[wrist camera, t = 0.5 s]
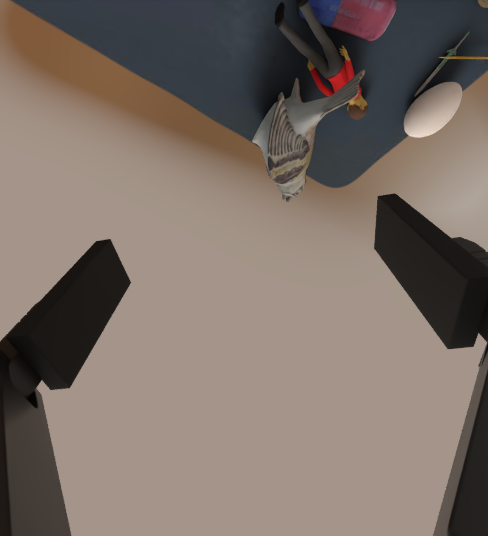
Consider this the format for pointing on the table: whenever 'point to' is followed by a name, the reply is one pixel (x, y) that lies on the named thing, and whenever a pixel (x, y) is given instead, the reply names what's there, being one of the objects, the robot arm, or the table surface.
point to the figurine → (296, 134)
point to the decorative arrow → (463, 57)
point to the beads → (483, 3)
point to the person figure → (327, 67)
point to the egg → (432, 109)
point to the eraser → (354, 16)
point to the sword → (451, 52)
